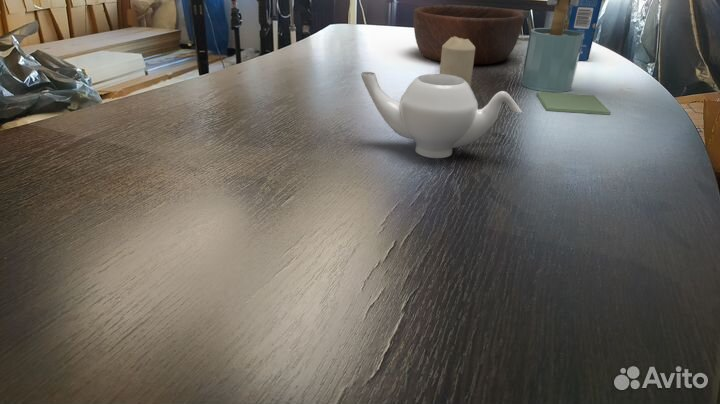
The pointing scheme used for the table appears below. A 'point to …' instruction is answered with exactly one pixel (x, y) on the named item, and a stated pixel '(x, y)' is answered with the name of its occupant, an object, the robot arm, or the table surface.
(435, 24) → the wooden bowl
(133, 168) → the table surface
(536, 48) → the cup
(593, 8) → the blue food package
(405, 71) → the table surface
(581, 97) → the mat
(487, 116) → the teapot
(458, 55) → the candle
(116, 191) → the table surface
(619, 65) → the table surface
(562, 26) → the brush
